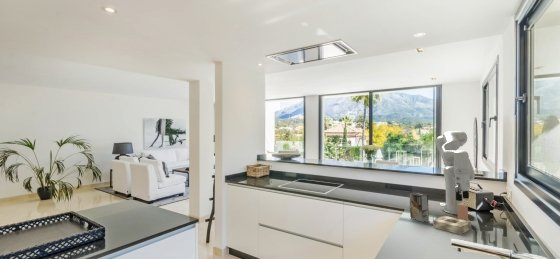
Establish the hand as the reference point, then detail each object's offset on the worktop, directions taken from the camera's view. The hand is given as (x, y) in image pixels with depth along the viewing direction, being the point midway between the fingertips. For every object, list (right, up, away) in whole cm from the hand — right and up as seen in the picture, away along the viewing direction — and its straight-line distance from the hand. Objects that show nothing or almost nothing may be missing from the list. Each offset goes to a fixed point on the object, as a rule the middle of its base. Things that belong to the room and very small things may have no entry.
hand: (462, 199), depth 155 cm
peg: (0, -14, 0) cm, 14 cm away
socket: (-12, -14, -8) cm, 20 cm away
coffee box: (-22, -15, +7) cm, 28 cm away
